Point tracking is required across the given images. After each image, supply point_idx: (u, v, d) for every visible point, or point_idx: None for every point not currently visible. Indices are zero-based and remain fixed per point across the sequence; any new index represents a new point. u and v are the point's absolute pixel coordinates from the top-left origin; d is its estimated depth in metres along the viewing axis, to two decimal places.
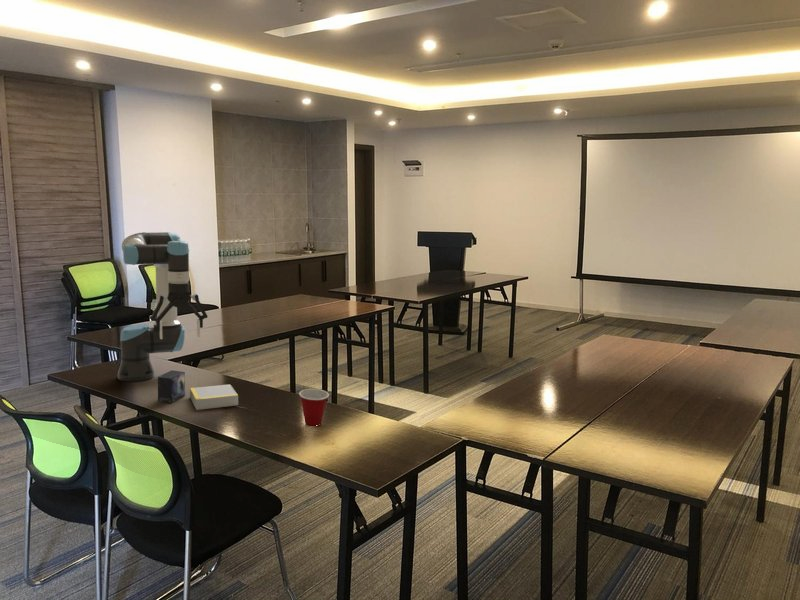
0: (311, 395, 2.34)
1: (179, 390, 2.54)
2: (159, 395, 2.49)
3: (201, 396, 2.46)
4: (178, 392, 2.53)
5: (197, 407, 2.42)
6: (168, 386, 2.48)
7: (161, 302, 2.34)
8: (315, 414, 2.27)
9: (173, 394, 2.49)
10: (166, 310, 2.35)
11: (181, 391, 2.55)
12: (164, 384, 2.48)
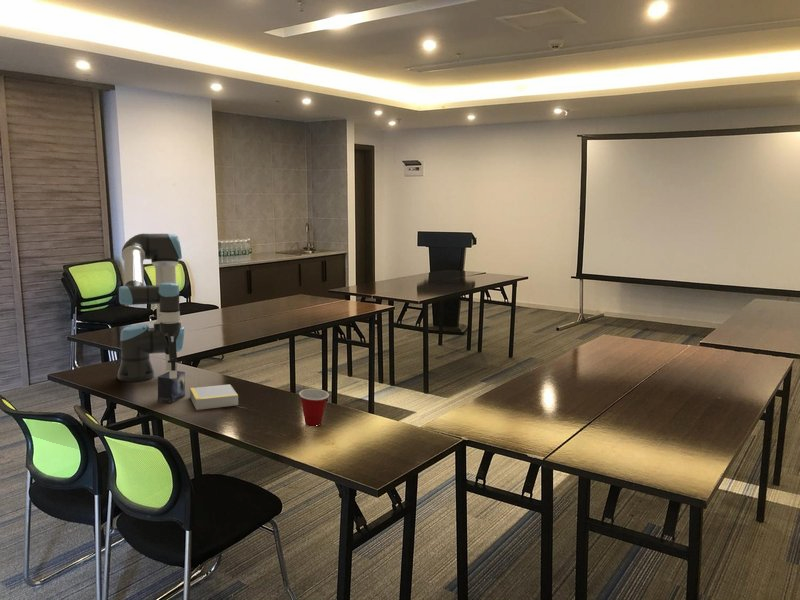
0: (311, 395, 2.34)
1: (179, 390, 2.54)
2: (159, 395, 2.49)
3: (201, 396, 2.46)
4: (178, 392, 2.53)
5: (197, 407, 2.42)
6: (168, 386, 2.48)
7: None
8: (315, 414, 2.27)
9: (173, 394, 2.49)
10: (166, 345, 2.54)
11: (181, 391, 2.55)
12: (164, 384, 2.48)
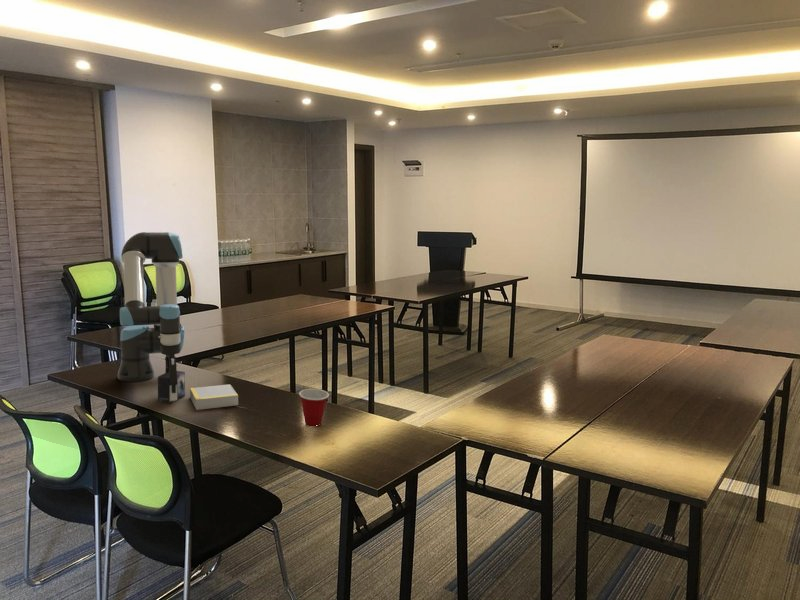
0: (311, 395, 2.34)
1: (179, 390, 2.54)
2: (159, 395, 2.49)
3: (201, 396, 2.46)
4: (178, 392, 2.52)
5: (197, 407, 2.42)
6: (168, 386, 2.48)
7: None
8: (315, 414, 2.27)
9: None
10: (166, 366, 2.56)
11: (181, 391, 2.55)
12: (164, 384, 2.48)
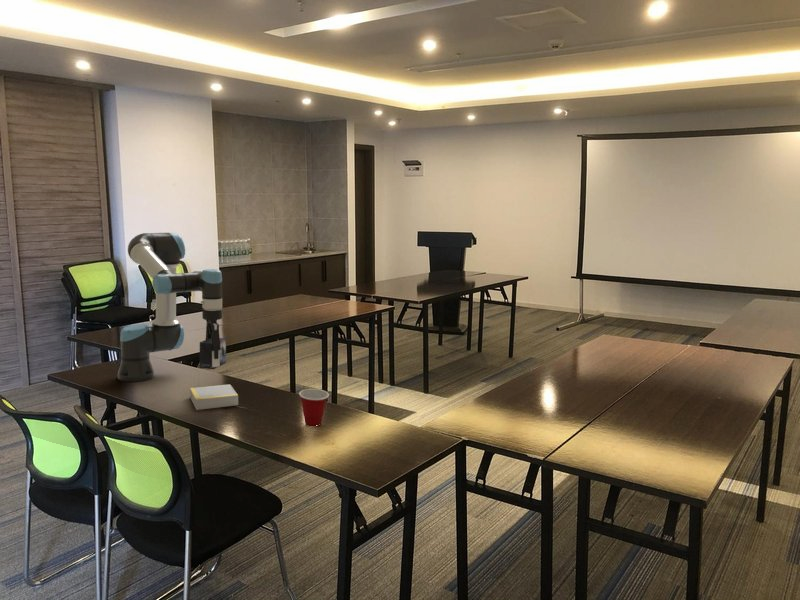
0: (311, 395, 2.34)
1: (221, 357, 2.50)
2: (201, 361, 2.45)
3: (201, 396, 2.46)
4: None
5: (197, 407, 2.42)
6: (210, 352, 2.44)
7: (206, 325, 2.53)
8: (315, 414, 2.27)
9: None
10: (207, 333, 2.52)
11: (222, 358, 2.51)
12: (207, 350, 2.44)
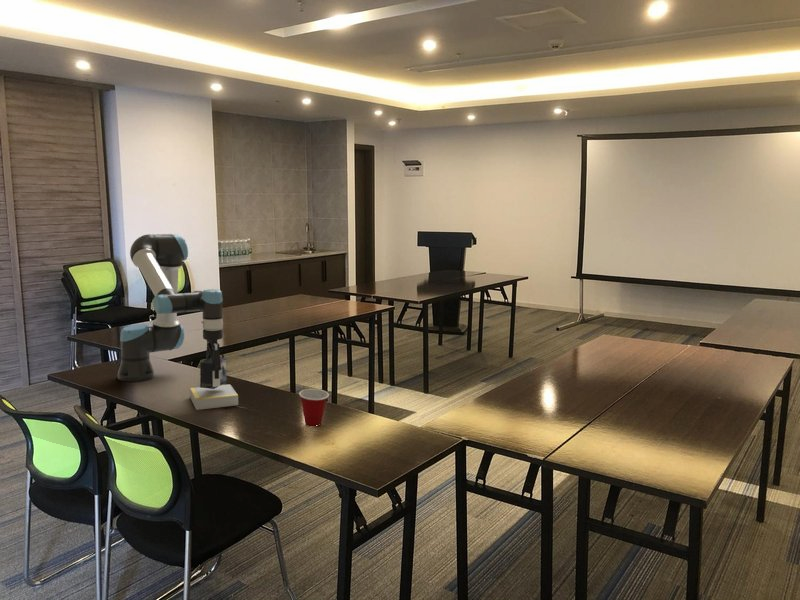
0: (311, 395, 2.34)
1: (221, 376, 2.51)
2: (202, 381, 2.47)
3: (201, 396, 2.46)
4: (220, 378, 2.50)
5: (197, 407, 2.42)
6: (211, 372, 2.45)
7: None
8: (315, 414, 2.27)
9: None
10: (208, 352, 2.53)
11: (222, 377, 2.52)
12: (207, 370, 2.45)
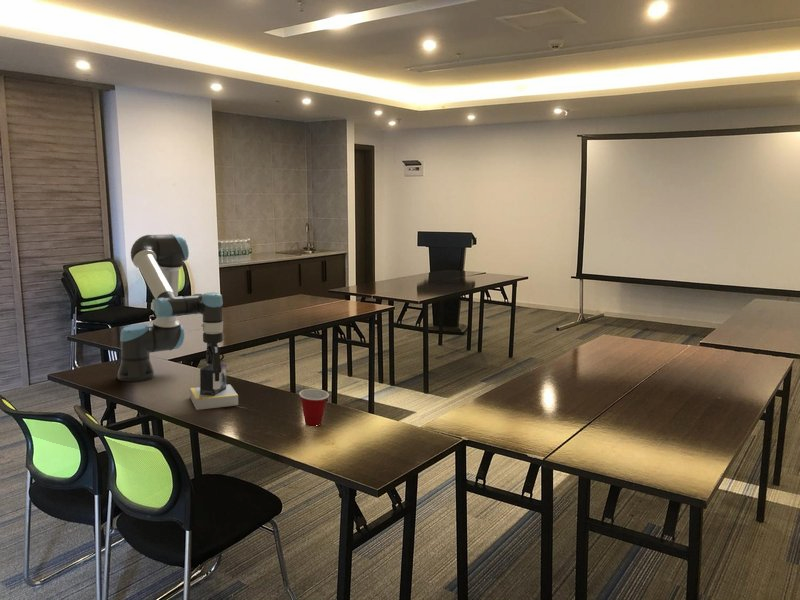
0: (311, 395, 2.34)
1: (221, 383, 2.52)
2: (201, 388, 2.47)
3: (201, 396, 2.46)
4: (220, 385, 2.51)
5: (197, 407, 2.42)
6: (211, 379, 2.46)
7: (207, 346, 2.55)
8: (315, 414, 2.27)
9: None
10: (208, 355, 2.54)
11: (222, 384, 2.53)
12: (207, 377, 2.46)
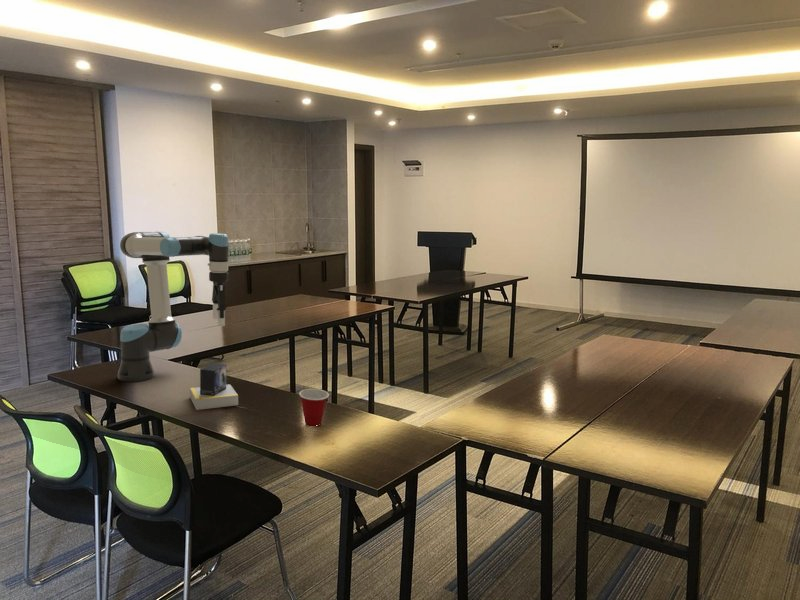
0: (311, 395, 2.34)
1: (221, 383, 2.52)
2: (201, 388, 2.47)
3: (201, 396, 2.46)
4: (220, 385, 2.51)
5: (197, 407, 2.42)
6: (211, 379, 2.46)
7: None
8: (315, 414, 2.27)
9: (215, 386, 2.47)
10: (214, 294, 2.63)
11: (222, 384, 2.53)
12: (207, 377, 2.46)
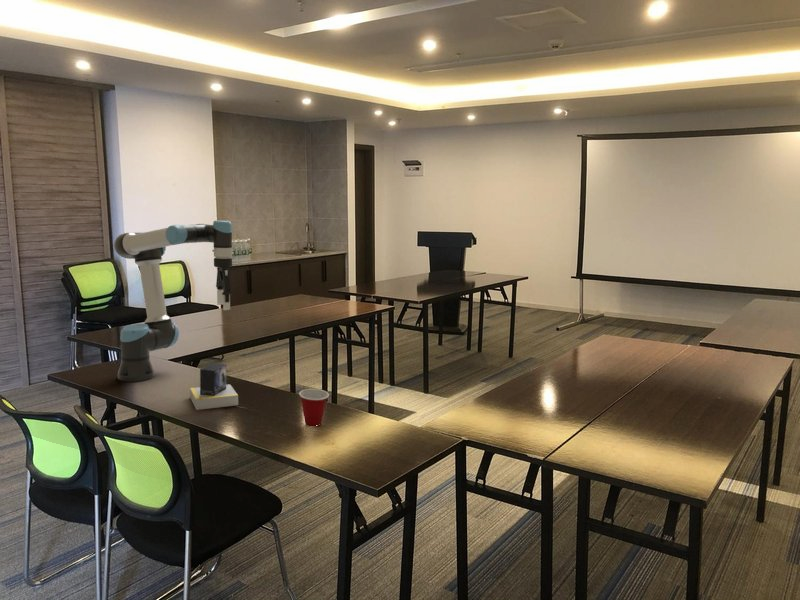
0: (311, 395, 2.34)
1: (221, 383, 2.52)
2: (201, 388, 2.47)
3: (201, 396, 2.46)
4: (220, 385, 2.51)
5: (197, 407, 2.42)
6: (211, 379, 2.46)
7: (217, 273, 2.72)
8: (315, 414, 2.27)
9: (215, 386, 2.47)
10: (218, 280, 2.70)
11: (222, 384, 2.53)
12: (207, 377, 2.46)
